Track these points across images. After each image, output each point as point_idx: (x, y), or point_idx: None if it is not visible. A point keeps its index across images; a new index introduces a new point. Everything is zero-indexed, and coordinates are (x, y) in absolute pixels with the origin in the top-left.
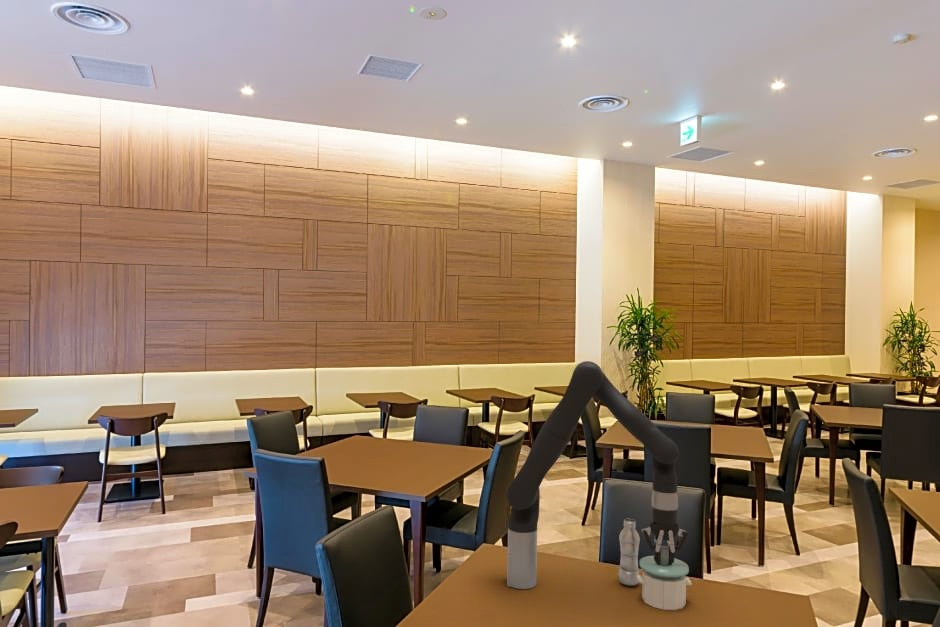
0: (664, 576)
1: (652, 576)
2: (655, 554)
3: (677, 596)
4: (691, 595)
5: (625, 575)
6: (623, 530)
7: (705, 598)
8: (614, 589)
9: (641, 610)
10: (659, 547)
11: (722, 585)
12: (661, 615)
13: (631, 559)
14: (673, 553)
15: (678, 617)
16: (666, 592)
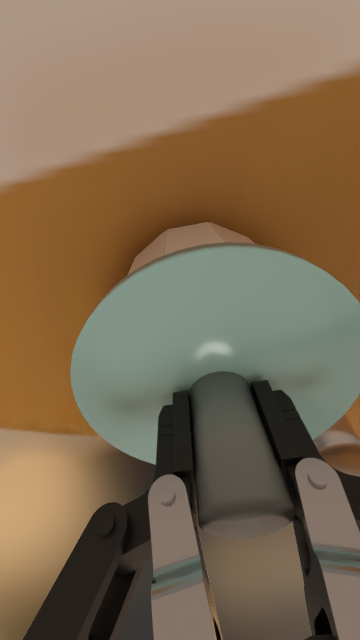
0: (243, 244)
1: None
2: (307, 438)
3: (153, 252)
4: None
5: None
6: None
7: (65, 345)
8: None
9: (300, 188)
10: (311, 511)
11: (31, 422)
12: (226, 158)
13: (333, 437)
14: (161, 470)
15: (156, 158)
16: (206, 240)
